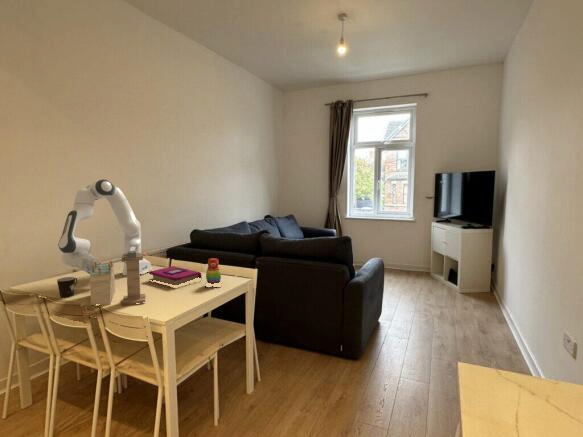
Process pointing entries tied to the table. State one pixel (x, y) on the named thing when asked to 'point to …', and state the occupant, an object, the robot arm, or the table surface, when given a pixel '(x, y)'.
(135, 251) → the remote
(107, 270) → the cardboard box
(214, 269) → the stacking bear
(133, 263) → the walnut stand
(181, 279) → the book
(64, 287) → the coffee mug
